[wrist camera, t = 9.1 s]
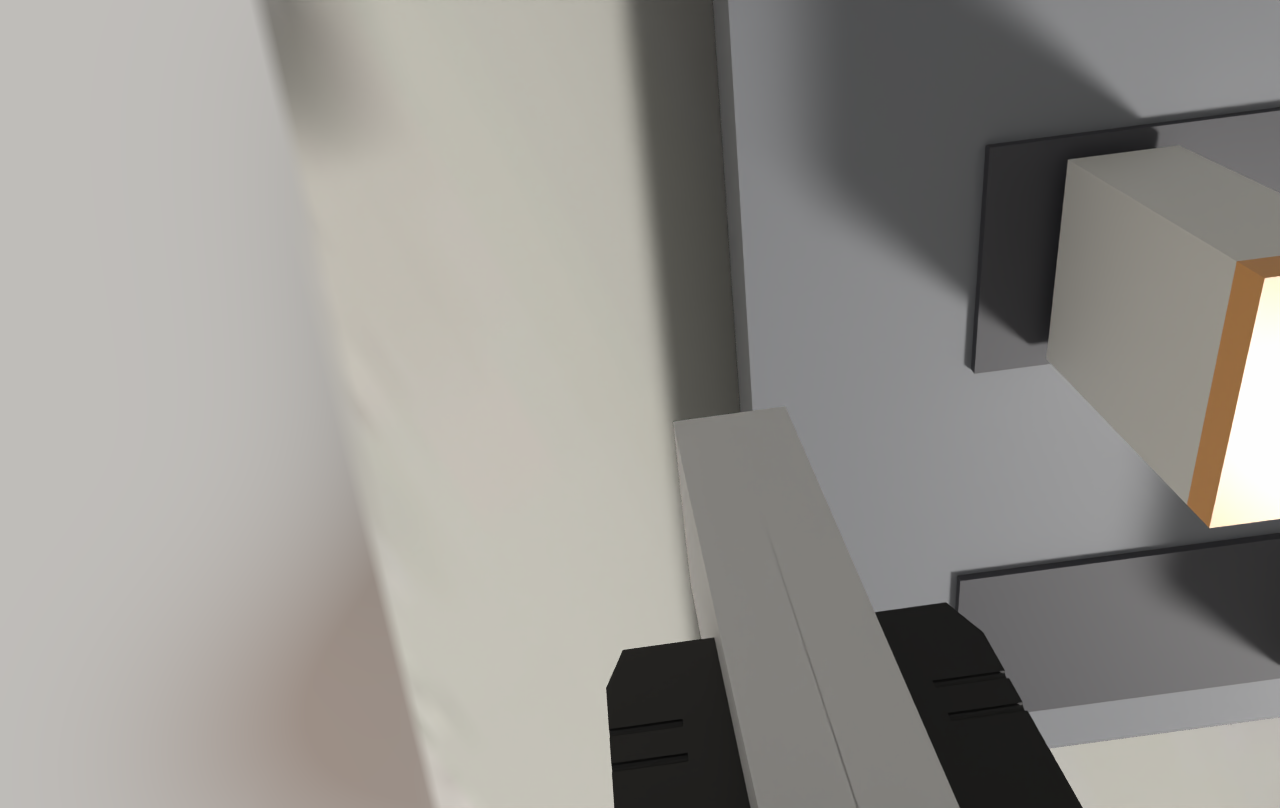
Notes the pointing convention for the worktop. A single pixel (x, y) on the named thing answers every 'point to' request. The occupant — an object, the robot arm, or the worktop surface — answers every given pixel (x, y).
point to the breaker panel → (992, 327)
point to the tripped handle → (1176, 321)
